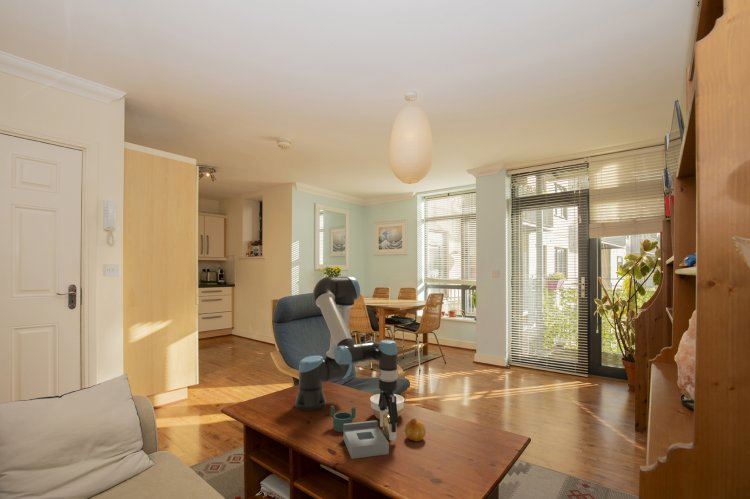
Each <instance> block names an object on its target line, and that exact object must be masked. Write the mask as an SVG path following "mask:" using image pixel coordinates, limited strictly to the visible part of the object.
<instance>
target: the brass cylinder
mask: <svg viewBox="0 0 750 499" xmlns="http://www.w3.org/2000/svg"><path fill="white" fill-rule="evenodd" d="M389 422H390V418H389V414H386V415H383V427H382V433H383V435H384V436H385V438H386V439H388V440H389Z"/></svg>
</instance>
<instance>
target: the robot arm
mask: <svg viewBox="0 0 750 499" xmlns="http://www.w3.org/2000/svg"><path fill="white" fill-rule="evenodd" d="M360 296H361V287H360V284H359V281H358V280H357V279H356V278H355V277H354V276H348V275H346V276H326V277H323V278H321V279H320V280H319V281H317V283H316V284H315V286H314V289H313V301H314V303H315V305H316V307H317V308H319V309H320V311H321V312H320V313H321V314H322V316H323V319H324V321H325V324H326V325H327V328H328V330H329V332H330V342H329V349H328V350H327V351H326V353H325V357H323V356H322V355H318V354H317V355H310V356H309V355H308V356H305V357H304V358H302V359H301V360H300V361H299V366H298V392H297V394H296V398H295V401H294V407H295V409H297V410H298V411H303V412H312V411H318V410H321V409H323V408H325V407H326V404H327V400H326V399H327V398H326V396H325V393H324V389H323V383H327V382H333V381H339V380H341V381H342V380H344V379H347V378H348V377H349V376H350V374H351V372H352V369H353V368H352V367H353V364H354V363H355V364H356V363H364V362H370V361H371V362H372V361H375V362H378V371H377V374H378V378H379V379H378V389H379V390H380V391H379V392H380V393H379V394H380V398H379V404H378V406H379V407H380V410H381V411H380V419H379V428H383V415H386V414H387V410H385V409H387V407H388V412H389V418H390V422H389V439H388V440H389V441H396V440H397V424H399V422H400V421H399V417H398V413H397V404H396V396H394V394H395V393H394V391H396V390H397V389H398V353H399V351H398V343H397V342H396V341H395V340H391V339H383V340H380V341H379V342H378V341H376V340H367V341H364V343H355V341H354V339H353V337H352V336H351V333H350V331H349V327H350V318H351V309H352V308H353V306H354V305H355V300H358V299H359V298H360Z"/></svg>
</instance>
